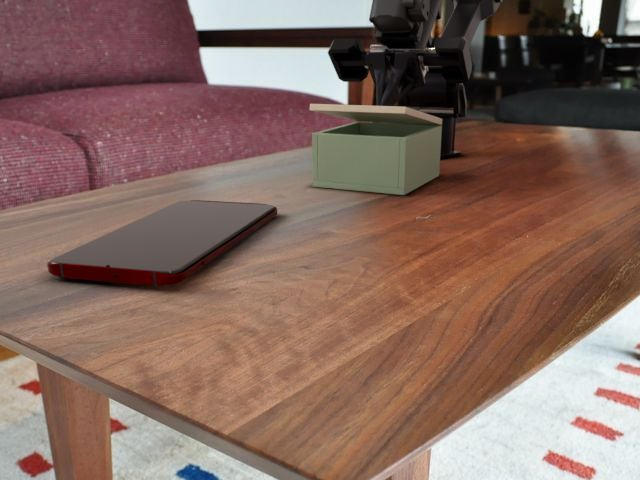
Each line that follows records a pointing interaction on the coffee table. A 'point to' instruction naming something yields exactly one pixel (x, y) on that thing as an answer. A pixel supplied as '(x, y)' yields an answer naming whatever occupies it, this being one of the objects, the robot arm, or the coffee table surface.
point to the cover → (377, 114)
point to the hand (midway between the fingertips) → (380, 110)
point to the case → (376, 157)
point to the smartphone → (164, 243)
